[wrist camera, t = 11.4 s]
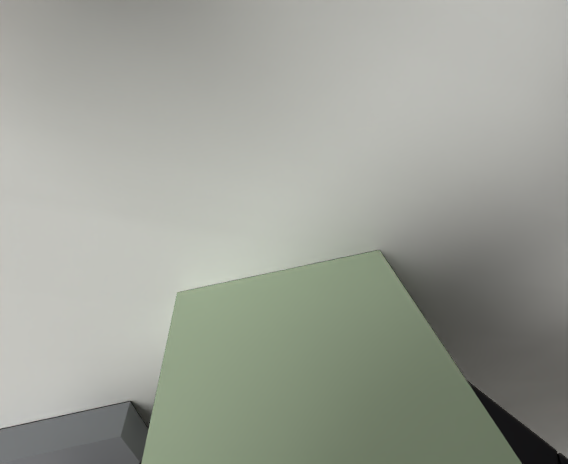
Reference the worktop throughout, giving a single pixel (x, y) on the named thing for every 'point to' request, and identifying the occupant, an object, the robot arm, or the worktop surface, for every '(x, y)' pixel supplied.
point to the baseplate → (78, 438)
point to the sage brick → (314, 376)
